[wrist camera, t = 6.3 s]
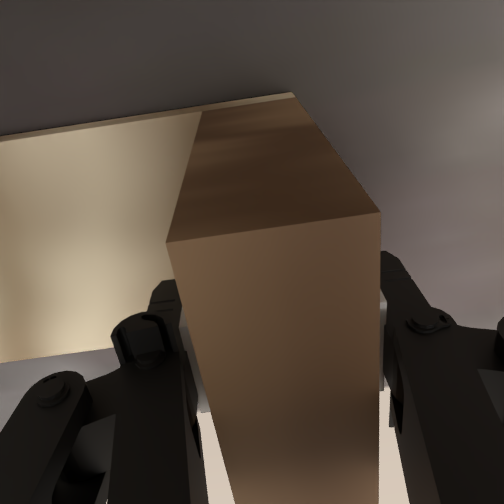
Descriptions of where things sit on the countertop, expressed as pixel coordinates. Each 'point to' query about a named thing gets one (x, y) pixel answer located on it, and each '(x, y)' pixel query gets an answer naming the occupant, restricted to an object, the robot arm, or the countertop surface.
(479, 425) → the robot arm
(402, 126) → the countertop surface
